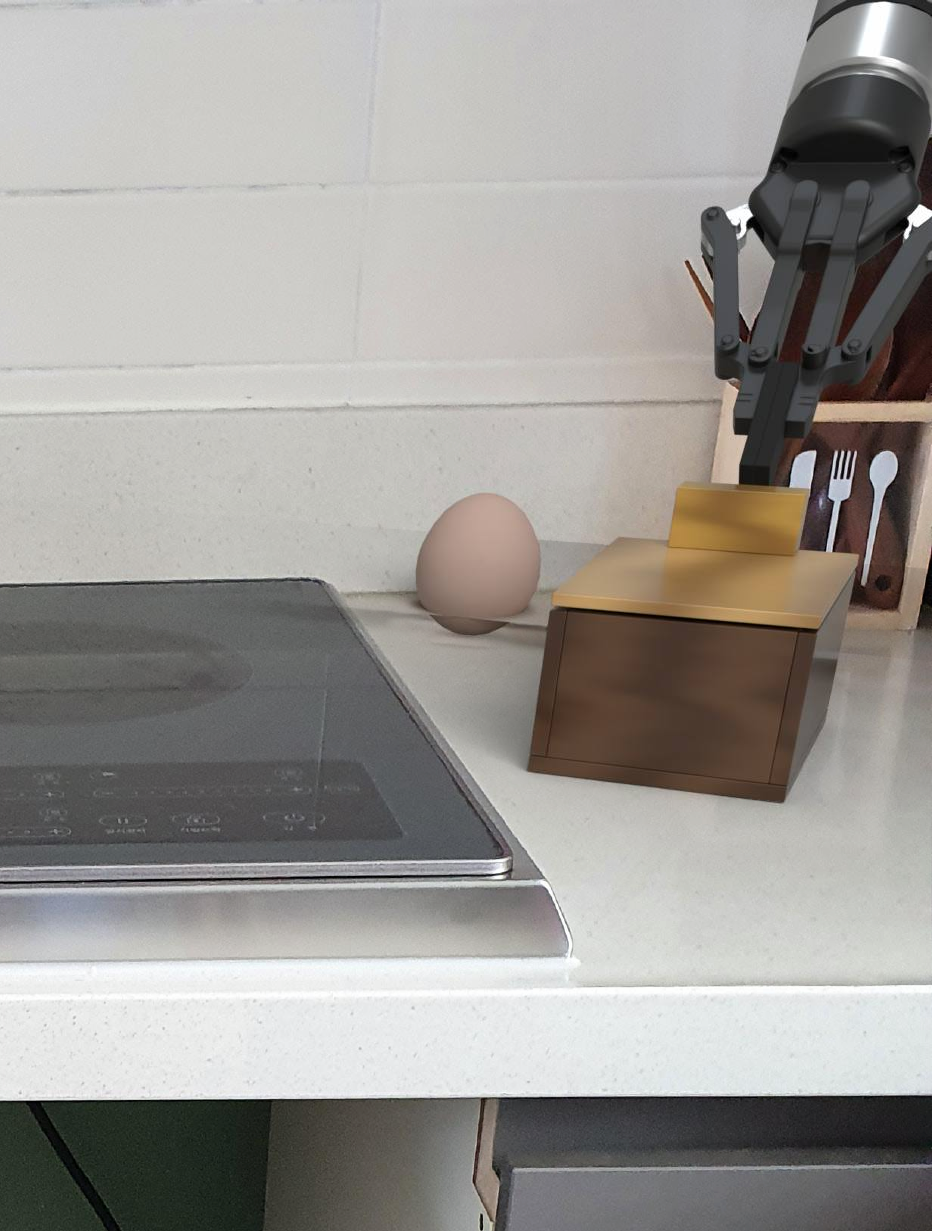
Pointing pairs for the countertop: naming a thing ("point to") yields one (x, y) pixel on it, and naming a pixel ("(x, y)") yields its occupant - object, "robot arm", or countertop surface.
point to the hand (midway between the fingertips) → (753, 481)
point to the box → (684, 699)
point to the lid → (718, 562)
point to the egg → (478, 564)
